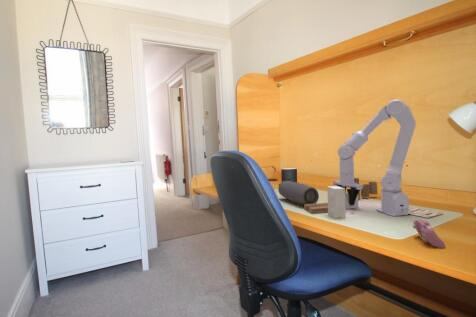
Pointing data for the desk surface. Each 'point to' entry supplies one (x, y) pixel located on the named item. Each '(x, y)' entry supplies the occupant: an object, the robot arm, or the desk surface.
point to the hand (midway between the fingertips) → (347, 203)
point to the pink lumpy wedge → (428, 233)
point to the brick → (348, 202)
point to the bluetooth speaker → (298, 193)
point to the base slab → (316, 208)
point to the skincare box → (336, 202)
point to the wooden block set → (367, 188)
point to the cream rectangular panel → (349, 213)
